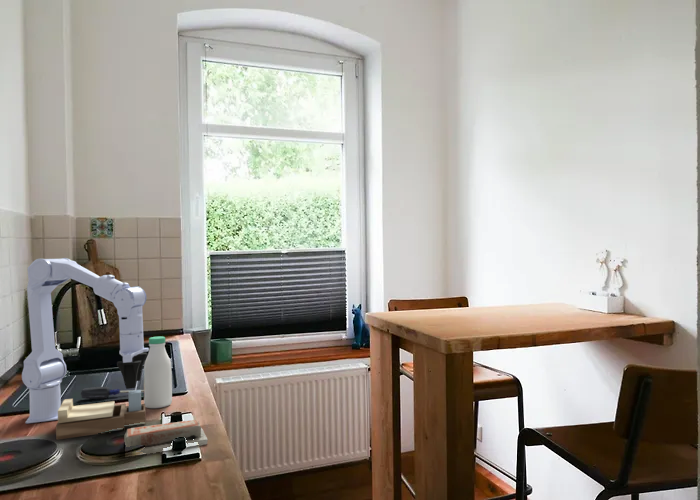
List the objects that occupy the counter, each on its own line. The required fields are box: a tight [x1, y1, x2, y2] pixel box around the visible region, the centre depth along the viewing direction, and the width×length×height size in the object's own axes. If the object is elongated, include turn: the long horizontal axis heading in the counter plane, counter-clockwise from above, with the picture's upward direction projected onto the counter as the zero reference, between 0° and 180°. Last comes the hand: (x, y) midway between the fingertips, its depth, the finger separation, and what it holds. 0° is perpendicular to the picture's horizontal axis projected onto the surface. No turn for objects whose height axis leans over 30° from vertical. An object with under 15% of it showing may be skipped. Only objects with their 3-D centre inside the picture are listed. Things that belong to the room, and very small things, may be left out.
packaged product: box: [123, 419, 209, 455], centre depth 117 cm, size 18×5×10 cm
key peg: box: [128, 389, 142, 412], centre depth 133 cm, size 3×3×8 cm
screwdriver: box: [80, 386, 144, 400], centre depth 158 cm, size 26×4×4 cm, turn 112°
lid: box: [57, 398, 116, 423], centre depth 128 cm, size 10×12×3 cm
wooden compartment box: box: [55, 403, 146, 441], centre depth 130 cm, size 12×20×3 cm, turn 112°
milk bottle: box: [143, 335, 173, 409], centre depth 147 cm, size 8×8×20 cm
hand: (133, 384), depth 131 cm, fingers open, 7 cm apart
